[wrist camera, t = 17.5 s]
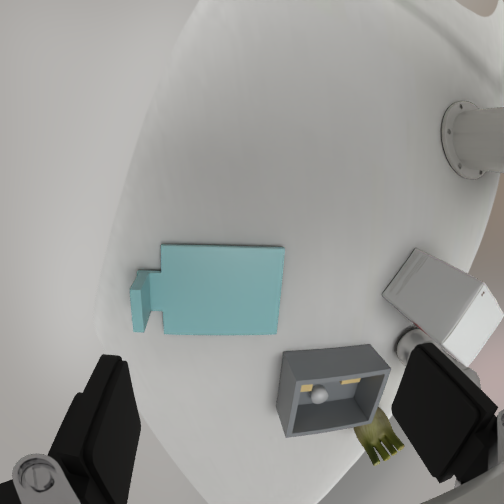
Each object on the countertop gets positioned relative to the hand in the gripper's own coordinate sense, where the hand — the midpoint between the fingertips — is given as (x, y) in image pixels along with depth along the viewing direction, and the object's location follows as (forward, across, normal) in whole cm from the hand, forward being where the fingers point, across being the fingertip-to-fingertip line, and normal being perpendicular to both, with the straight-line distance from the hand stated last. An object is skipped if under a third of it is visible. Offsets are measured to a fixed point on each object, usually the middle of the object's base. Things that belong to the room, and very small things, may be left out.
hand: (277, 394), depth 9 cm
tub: (+30, -15, +24) cm, 41 cm away
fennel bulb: (+30, -24, +34) cm, 52 cm away
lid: (+30, +3, +9) cm, 31 cm away
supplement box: (+31, -28, +9) cm, 42 cm away
